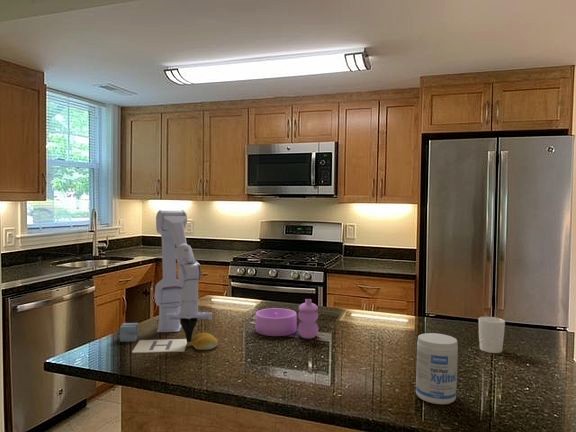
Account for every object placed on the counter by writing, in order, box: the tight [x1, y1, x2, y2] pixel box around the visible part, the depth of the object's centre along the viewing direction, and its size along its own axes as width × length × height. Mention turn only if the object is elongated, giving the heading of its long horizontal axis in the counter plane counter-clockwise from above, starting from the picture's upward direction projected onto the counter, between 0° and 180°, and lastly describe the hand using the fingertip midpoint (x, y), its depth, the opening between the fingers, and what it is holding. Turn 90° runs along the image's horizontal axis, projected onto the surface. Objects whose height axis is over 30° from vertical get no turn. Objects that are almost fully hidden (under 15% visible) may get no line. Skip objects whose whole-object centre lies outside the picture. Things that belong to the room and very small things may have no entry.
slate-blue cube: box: [119, 322, 139, 343], centre depth 153 cm, size 5×5×5 cm
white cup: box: [478, 316, 506, 354], centre depth 146 cm, size 8×8×10 cm
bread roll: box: [190, 332, 219, 351], centre depth 147 cm, size 8×9×4 cm
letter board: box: [131, 338, 188, 354], centre depth 146 cm, size 12×16×1 cm
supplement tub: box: [415, 332, 459, 405], centre depth 110 cm, size 10×10×15 cm
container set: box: [254, 298, 319, 339], centre depth 163 cm, size 25×15×13 cm, turn 58°
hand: (189, 341), depth 147 cm, fingers closed
